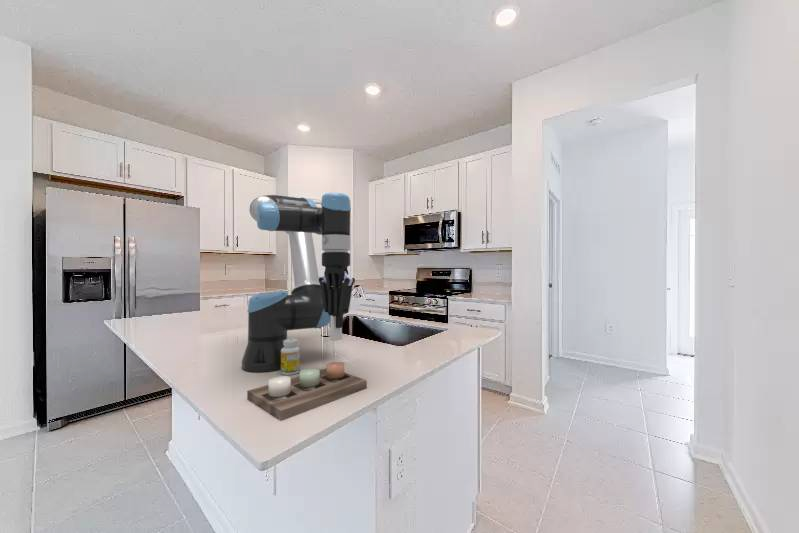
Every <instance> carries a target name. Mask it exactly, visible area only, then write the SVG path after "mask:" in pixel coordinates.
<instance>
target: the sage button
mask: <svg viewBox="0 0 799 533" xmlns="http://www.w3.org/2000/svg"><path fill="white" fill-rule="evenodd" d="M320 370H321V369H318V368H315V367H313V368H312V367H311V368H304V369H302V370H300V371H299V376H300V386H303V387H311V388H313V387H312V386H316V385H318V384H319V383H320Z"/></svg>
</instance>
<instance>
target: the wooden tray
mask: <svg viewBox="0 0 799 533" xmlns="http://www.w3.org/2000/svg"><path fill="white" fill-rule="evenodd" d="M319 370H320V383H319V384H318V385H316V386H312V387H303V386H300V375H298V376H295V377H292V378H291V377H290V378H291V392H290V393H289V394H287V395H285V396H280V397H272V396H270V395H269V384H266V385H263V386H259V387H256V388H252V389H249V390H247V391H246V393H247V394H246V396H247V397H246V399H247V400H248V401H250V402H251V403H253V404H254V405H255V406H257V407H259V408H261V409H262V410H264V411H266V412H267V413H269V414H270V415H272V416H273V417H275V418H276V419H278V420H279V421H284V420H286V419H288V418H291V417H294V416H296V415H300V414H302V413H304V412H308V411H309V410H312V409H316V408H317V407H320V406H322V405H326V404H329V403H331V402H333V401H337V400H339V399H341V398H344V397H347V396H349V395H352V394H354V393H358V392H360V391H363V390H365V389H367V388H368V387H367V386H368V384H367V382H368V381H367V379H364V378H361V377H358V376H355V375H353V374H350V373H348V372H345V375H344V376H343V377H341V378H328V377H327V376H326V368H322V369H319ZM335 380H338V381H335ZM333 381H334V382H333ZM312 388H313V389H312ZM308 389H311V390H308ZM305 390H308V391H305ZM283 397H286V398H283ZM280 398H282V399H280ZM277 399H280V400H277ZM274 400H276V401H275V402H274Z"/></svg>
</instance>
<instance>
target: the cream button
mask: <svg viewBox="0 0 799 533" xmlns="http://www.w3.org/2000/svg"><path fill="white" fill-rule="evenodd" d="M268 385H269V395H270V396H272V397H280V396H283V397H286V396H285V395H287V394H289V393H290V392H291V377H290V376H288V375H284V376H283V375H280V376H275V377H272V378H270V379H268ZM280 398H281V397H280Z"/></svg>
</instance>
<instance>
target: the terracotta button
mask: <svg viewBox="0 0 799 533" xmlns="http://www.w3.org/2000/svg"><path fill="white" fill-rule="evenodd" d="M325 366H326V368H325V369H326V376H327V377H328V378H341V377H343V376H344V375H345V373H346V372H345V370H346V369H345V367H346V365H345V362H343V361H330V362H328V363H326V365H325Z"/></svg>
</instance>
